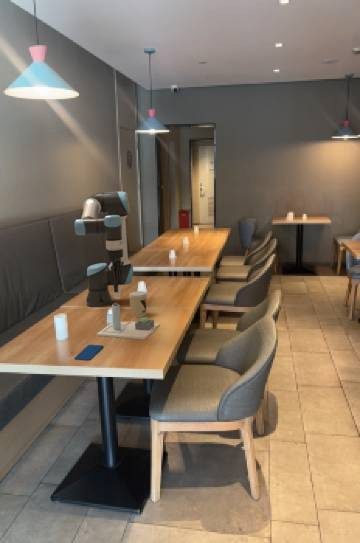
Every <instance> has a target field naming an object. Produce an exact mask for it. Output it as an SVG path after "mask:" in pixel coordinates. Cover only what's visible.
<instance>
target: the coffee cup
mask: <svg viewBox="0 0 360 543" xmlns="http://www.w3.org/2000/svg"><path fill="white" fill-rule="evenodd" d="M147 295H148V294H147V292H146V291H143V290H137V291H132V292H129V294H128V297H129V303H130V313H131V316H132V317H134V318H143V317H146V315H147V297H148V296H147Z"/></svg>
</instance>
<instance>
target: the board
mask: <svg viewBox="0 0 360 543" xmlns="http://www.w3.org/2000/svg"><path fill="white" fill-rule="evenodd" d="M120 322H121V330H113V322H111V323H110V324H108V325H107V326H106V327H104V328H103V329H101V330H100V331H98V332H97V333H96V336H97V337H99V336H100V337H108V338H109V337H110V338H121V339H134V340H146V339H147V338H148V337H149V336H150V335H151V334H152V333H153V332H155V331H156V330H157V329H158V328H159V327H160V323H157V322H156V323H155V320H154V319H150V318H149V322H148V323H140V319H139V320H137V321H132V320H131V321H128V320H127V321H126V320H120Z"/></svg>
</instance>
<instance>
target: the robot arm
mask: <svg viewBox="0 0 360 543" xmlns="http://www.w3.org/2000/svg"><path fill="white" fill-rule="evenodd" d="M128 196H129V195H128V193H127V192H125V191H119V190H117V191H104V192H102V191H100V192H95V193H92V194H91V195H89V196H88V197H86V198H85V200H84V202H83V204H82V209H83V211H82V214H81V218H79V219H75V221H74V232H75V234H76V235H77V236H90V235H93V236H94V235H105V249H106V258H107V259H109V265H108V264H107V263H106V262H100V263H95V264H91V265H89V266H88V267H87V269H86V276H87V277H86V278H87V288H88V289H87V291H88V292H87V296H86V299H85V300H86V301H85V303H86V306H89V307H92V308H95V307H97V308H99V307H106V306H110V305H111V304H113V298H114V299H116V300H120V299H121V298H122V296H121V294H122V292H121V291H122V290H121V286H126V285H131V284H132V283H133V278H134V276H133V275H134V265H133V264H131V262H132V261H130V260H129V257H128V255H129V254H128V241H127V240H128V239H127V224H126V218H127V217H128V216H129V213H130V212H131V208H130V203H129V197H128ZM99 214H106V216H104V218H98V216H99ZM110 286H111V287H112V286H113V296H114V297H112V295H111V293H110V289H109V287H110Z"/></svg>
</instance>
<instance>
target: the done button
mask: <svg viewBox="0 0 360 543" xmlns="http://www.w3.org/2000/svg"><path fill="white" fill-rule="evenodd" d="M149 319H150V318H149V317H146V316H143V317H139V320H140V323H148V322H149Z"/></svg>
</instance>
